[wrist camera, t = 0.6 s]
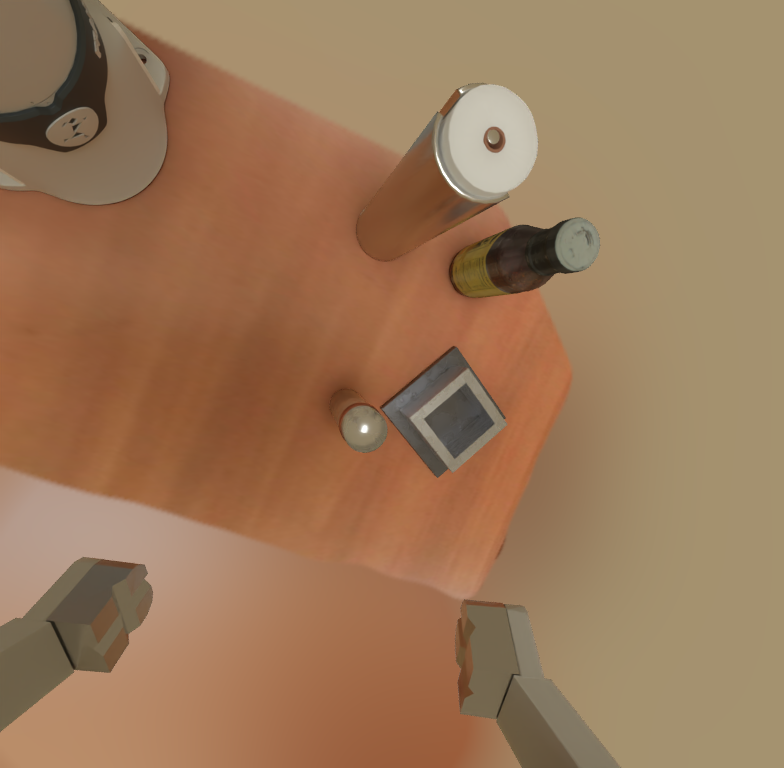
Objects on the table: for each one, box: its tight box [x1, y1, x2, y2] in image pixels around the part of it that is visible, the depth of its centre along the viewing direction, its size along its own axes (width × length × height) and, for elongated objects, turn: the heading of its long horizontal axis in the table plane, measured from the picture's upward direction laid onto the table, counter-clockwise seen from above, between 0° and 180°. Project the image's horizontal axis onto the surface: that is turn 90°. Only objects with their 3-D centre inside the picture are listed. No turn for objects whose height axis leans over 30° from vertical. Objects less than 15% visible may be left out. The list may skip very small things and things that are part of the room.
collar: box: [380, 346, 507, 478], centre depth 49 cm, size 12×12×5 cm
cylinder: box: [329, 389, 387, 453], centre depth 42 cm, size 4×4×12 cm
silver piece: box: [356, 83, 538, 261], centre depth 34 cm, size 6×6×25 cm
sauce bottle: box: [450, 218, 600, 298], centre depth 40 cm, size 7×6×20 cm
